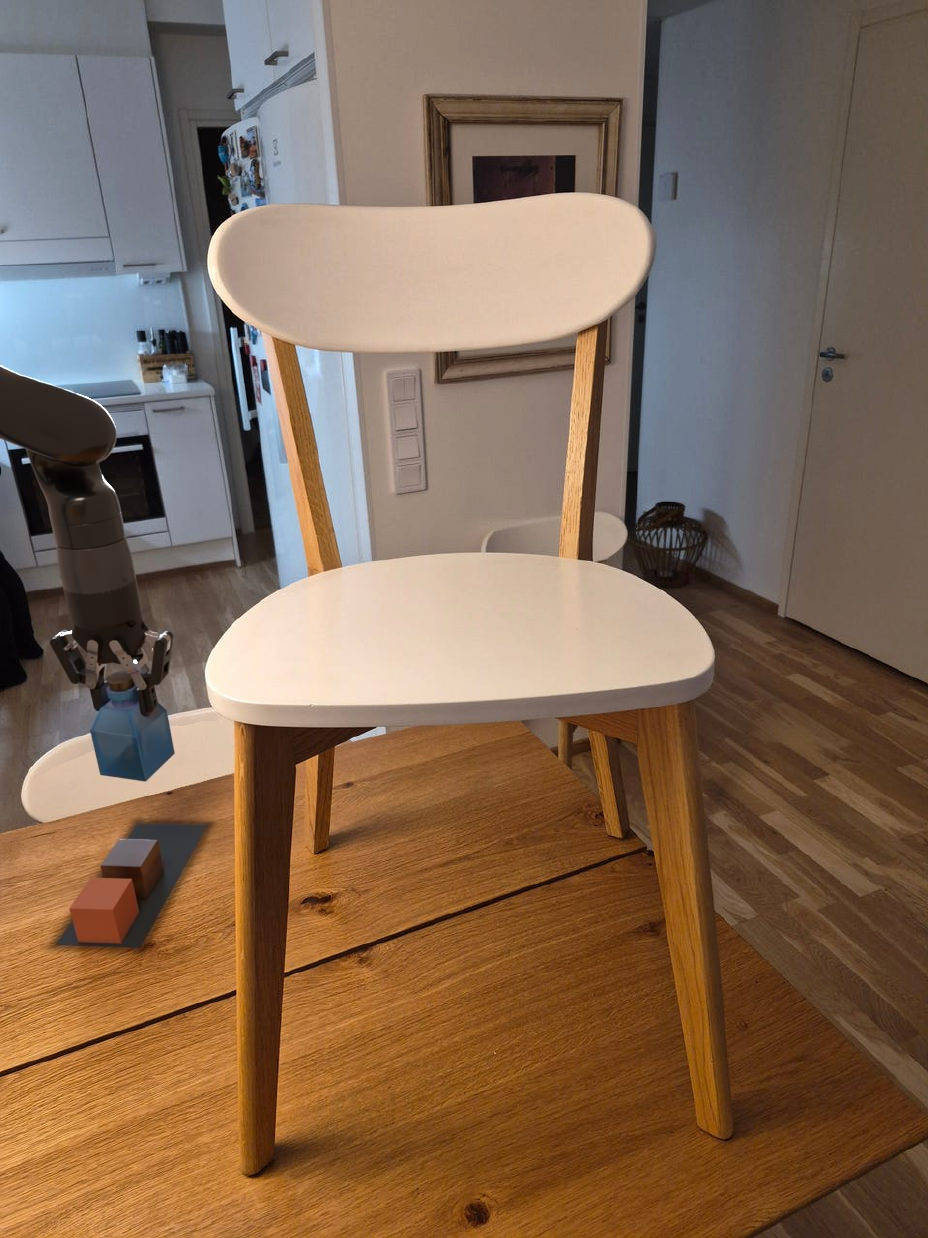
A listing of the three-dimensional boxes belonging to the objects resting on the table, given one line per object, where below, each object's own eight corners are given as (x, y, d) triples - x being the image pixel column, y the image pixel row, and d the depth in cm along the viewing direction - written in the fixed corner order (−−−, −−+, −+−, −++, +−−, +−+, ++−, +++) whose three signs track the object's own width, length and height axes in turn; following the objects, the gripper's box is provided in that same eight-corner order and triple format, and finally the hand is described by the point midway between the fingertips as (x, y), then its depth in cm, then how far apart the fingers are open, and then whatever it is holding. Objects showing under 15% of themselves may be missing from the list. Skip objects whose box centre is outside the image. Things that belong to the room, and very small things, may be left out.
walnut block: (107, 898, 100) (100, 865, 98) (125, 870, 105) (118, 838, 103) (147, 899, 100) (140, 867, 98) (164, 871, 104) (157, 839, 102)
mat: (56, 950, 94) (45, 911, 91) (137, 827, 114) (130, 793, 111) (141, 953, 93) (132, 914, 91) (208, 829, 113) (202, 794, 111)
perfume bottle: (100, 775, 99) (80, 686, 94) (131, 747, 104) (113, 662, 99) (145, 781, 97) (127, 692, 92) (174, 753, 103) (159, 667, 98)
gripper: (175, 567, 94) (197, 698, 101) (54, 566, 95) (84, 696, 102) (148, 591, 87) (173, 730, 94) (18, 590, 88) (52, 728, 95)
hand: (127, 712), depth 98 cm, fingers closed on perfume bottle, 4 cm apart
